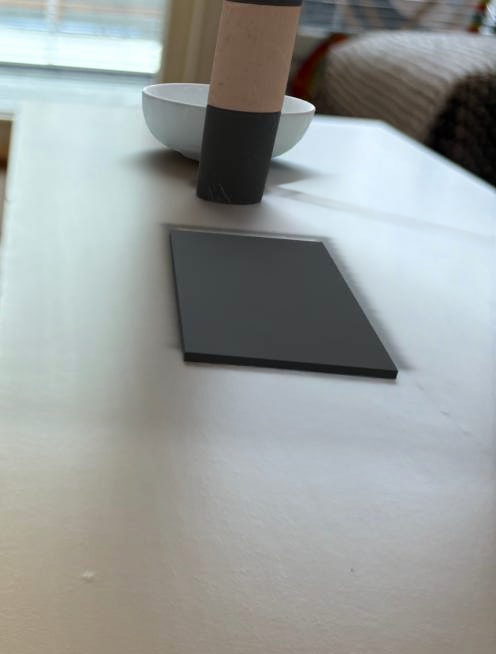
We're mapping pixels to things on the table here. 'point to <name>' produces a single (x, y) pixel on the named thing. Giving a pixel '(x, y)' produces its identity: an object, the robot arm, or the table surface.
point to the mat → (271, 306)
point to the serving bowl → (189, 116)
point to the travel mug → (246, 98)
